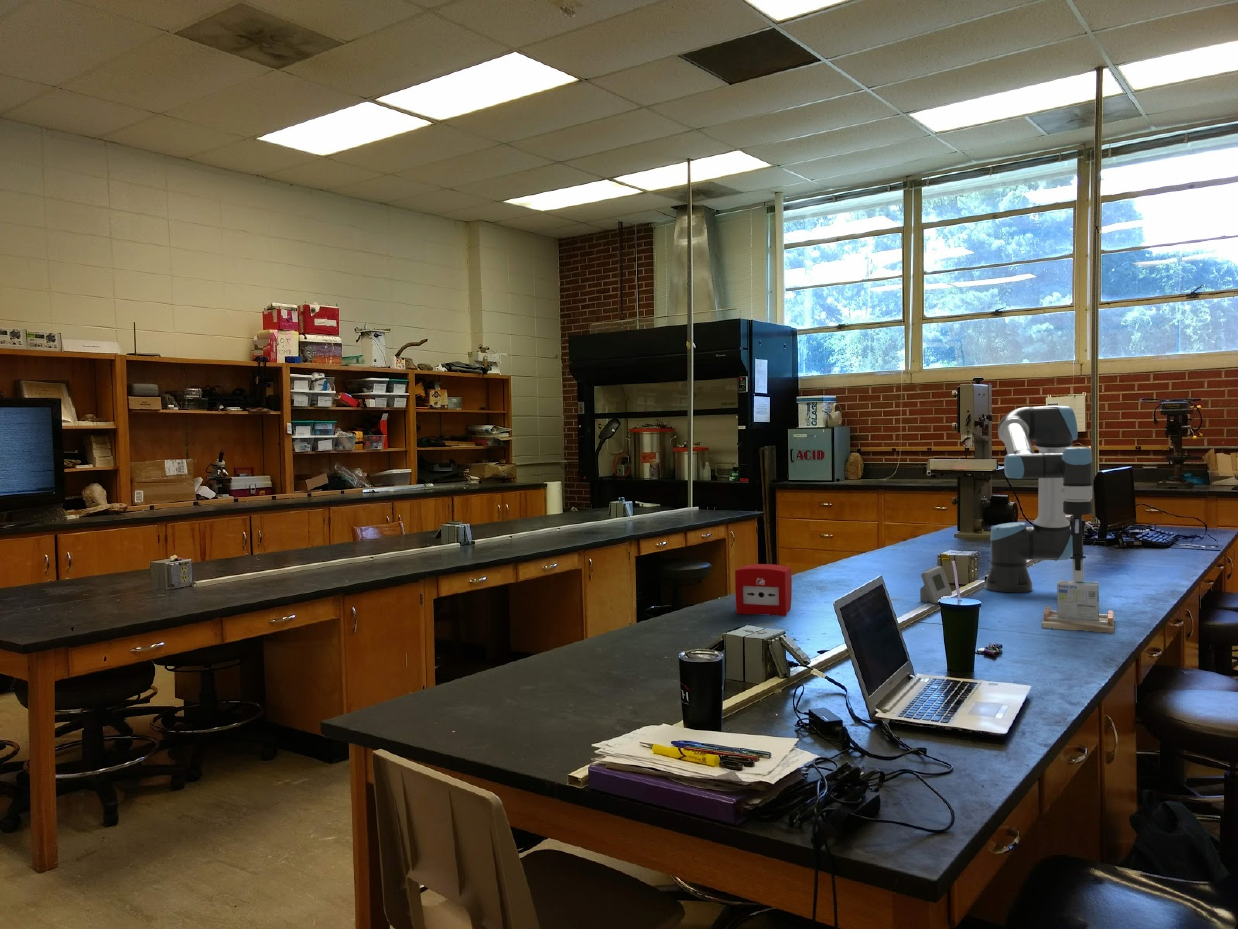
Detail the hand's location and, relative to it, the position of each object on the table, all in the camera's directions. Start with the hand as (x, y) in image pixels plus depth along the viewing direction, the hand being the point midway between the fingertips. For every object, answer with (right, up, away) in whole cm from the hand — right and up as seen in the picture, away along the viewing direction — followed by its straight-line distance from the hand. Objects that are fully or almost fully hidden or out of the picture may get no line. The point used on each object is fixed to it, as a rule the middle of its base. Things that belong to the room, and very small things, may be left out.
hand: (1078, 581), depth 256 cm
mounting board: (0, -13, 0) cm, 13 cm away
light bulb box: (0, -11, 0) cm, 11 cm away
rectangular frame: (0, -11, 0) cm, 11 cm away
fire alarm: (-87, -14, +30) cm, 93 cm away
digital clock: (-26, -12, +40) cm, 50 cm away
